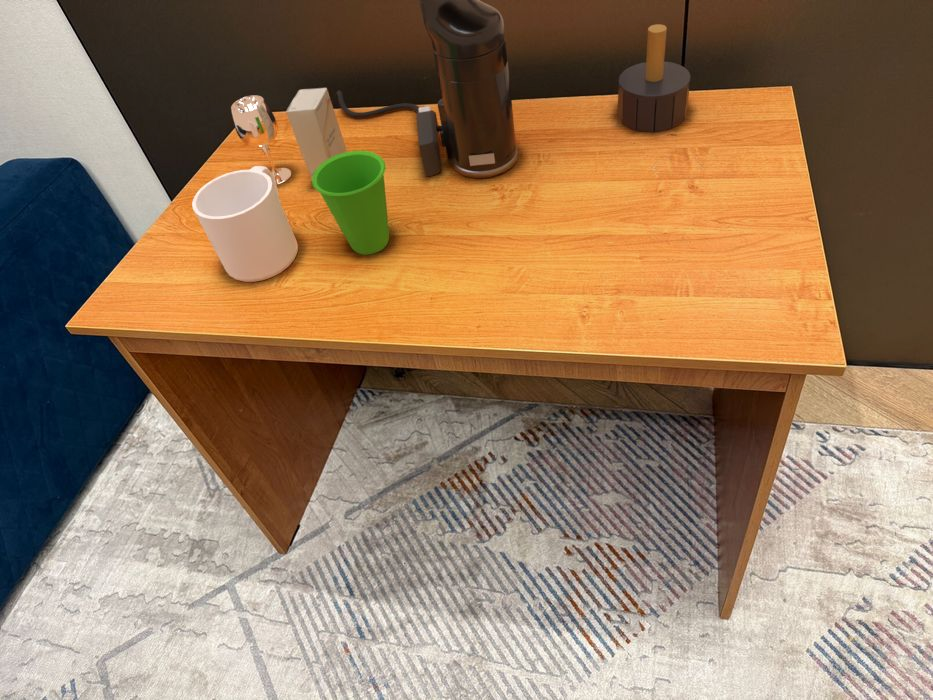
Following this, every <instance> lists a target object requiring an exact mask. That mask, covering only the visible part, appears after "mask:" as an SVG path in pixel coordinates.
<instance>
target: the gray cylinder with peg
mask: <svg viewBox="0 0 933 700" xmlns="http://www.w3.org/2000/svg"><path fill="white" fill-rule="evenodd" d="M667 29H668V28H667V26H666V25H664V24H661V23H660V24H659V23H657V24H652V25H650V26H649V27H648V28H647V42H646V43H647V45H646V60H645V62H640V63H636V64H634V65H632V66H631V65H630V66H629V67H627V68H626V69H625V70H623V71H622V73H621V74H620V75H619V77H618V84H617V87H618V88H617V118H618V119H619V120H620V124H621V125H623V126H624V127H627V128H629V129H631V130H633V131H636V132H646V133H657V132H662V131H666V130H671V129H674V128H676V127H677V126H678V125H680V124H681V123H683V122H684V121H685V119H686V116H687V113H688V106H689V96H690V86H691V73H690V72H689V70H688V68H685V67H684V66H682V65H681V64H678V63H675V62H671V61H665V56H666V43H667V41H666V40H667Z"/></svg>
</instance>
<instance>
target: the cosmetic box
mask: <svg viewBox="0 0 933 700" xmlns="http://www.w3.org/2000/svg"><path fill="white" fill-rule="evenodd" d="M285 113H286V116H287V118H288V121H289V123H290V126H291V129H292V132H293V134H294V138H295V140H296V143H297V145H298V148H299V151H300V154H301V156H302V159H303V161H304V164H305V167H306V170H307V172H308V175H309V178H310V180H311V181H312V177H313V174H314V172H315V170H316V169H317V168H318V166H320V165H321V164H322V163H323V162H324V161H326V160H328V159H329V158H331V157H334V156H336V155H338V154H342V153H345V152H348V149H347V147H346V144H345V140H344V137H343V134H342V131H341V127H340V124H339V121H338V119H337V115H336V112H335V109H334V106H333V102H332V100H331V97H330V94H329V89H328V88H327V87H318V88H316V87H315V88H303V89H299V90H298V91H297V93H296V94H295V96H294V97H293V99H292V101H291V102H290V104H289V105H288V107H287V109H286V111H285Z"/></svg>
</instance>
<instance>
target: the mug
mask: <svg viewBox="0 0 933 700" xmlns="http://www.w3.org/2000/svg"><path fill="white" fill-rule="evenodd" d="M270 171H271V170H270V169H269V168H268V167H266V166H264V165H254V166H252V167H251V168H250V169H240V170H234V171H230V172H227V173H224V174H222V175H219V176H217V177H215V178H213V179H211V180H210V181H209V182H207V183H205V184H204V185H203V186H201V188H200V189H198V191H197V192H196V194H195V195H194V196H193V199H192V203H191V205H192V210H193V212H194V214H195V216H196V218H197V220H198V221H199V223H200V225H201V227H202V229H203V231H204V233H205V235H206V237H207V239H208V240H209V242H210V244H211V247H212V248H213V250H214V251H215V254H216V255H217V257H218V259H219V261H220V263H221V265H222V267H223V269H224V270H225V272H226V273H227V274H228V276H229V277H231V278H232V279H234V280H236V281H241V282H245V283H246V282H247V283H254V282H259V281H260V282H261V281H266V280H268V279H270V278H273V277H275V276H277V275H279V274H280V273H282V272H283V271H285V270H286V269H287V268H289V267H290V265H291V264H293V262H294V261H295V260H296V259H295V258H296V257H297V254H298V251H299V244H298V241H297V239H296V236H295V234H294V231H293V228H292V227H291V224H290V221H289V219H288V216H287V215H286V212H285V210H284V207H283V204H282V202H281V197H280V193H279V188H278V185H276V182H275V179H274V177H273V175H272V173H271V172H270Z"/></svg>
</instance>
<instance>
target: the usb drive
mask: <svg viewBox="0 0 933 700" xmlns="http://www.w3.org/2000/svg"><path fill="white" fill-rule="evenodd" d="M419 107H420V108H419V113H417V112H416V126H417V127H416V128H417V136H418V137H417V138H418V147H419V152H420V156H421V161H422V167H423V172H424V175H425V177H427V178H428V177H432V176H436V175H439V174H440V171H441V170H442V159H441V158H442V157H441V150H440V149H441V148H440V140H439V138H440V137H439V136H440V131H437V128H436V126H439V123H438V117H437V112H436V111H434V110H432V109H431V106H430V105H426V106H422V107H421V106H419Z"/></svg>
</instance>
